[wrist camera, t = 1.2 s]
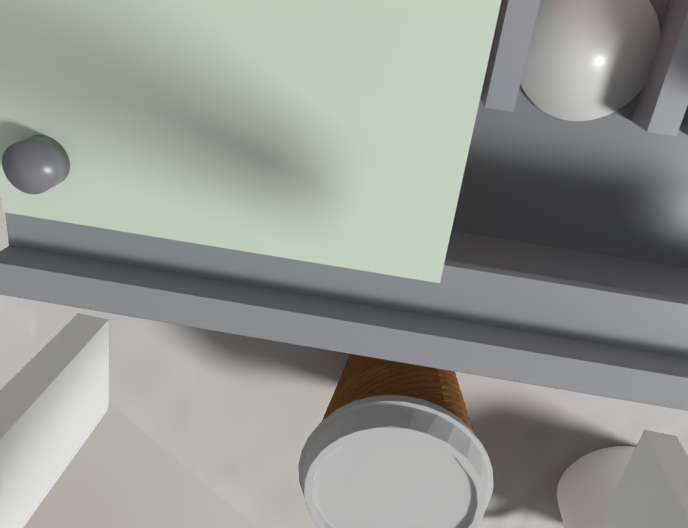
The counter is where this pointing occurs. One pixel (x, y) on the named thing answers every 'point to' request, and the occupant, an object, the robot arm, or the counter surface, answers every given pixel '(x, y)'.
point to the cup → (591, 486)
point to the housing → (472, 230)
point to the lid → (247, 122)
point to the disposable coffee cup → (395, 452)
